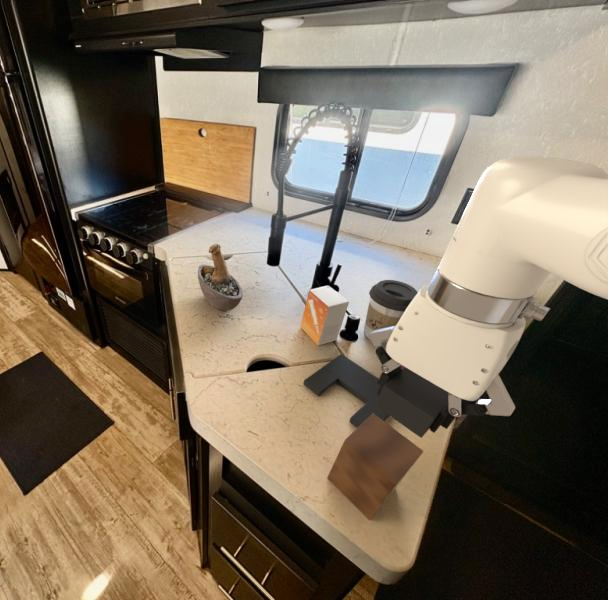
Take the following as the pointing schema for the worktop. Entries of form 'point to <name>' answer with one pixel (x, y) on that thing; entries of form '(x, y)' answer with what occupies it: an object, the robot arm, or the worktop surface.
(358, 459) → the brown wooden block
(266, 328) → the worktop surface
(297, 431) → the worktop surface
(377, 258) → the worktop surface
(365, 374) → the black u-shaped block
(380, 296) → the coffee cup
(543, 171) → the robot arm
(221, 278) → the planter
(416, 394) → the black squat block
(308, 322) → the small box
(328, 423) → the worktop surface
